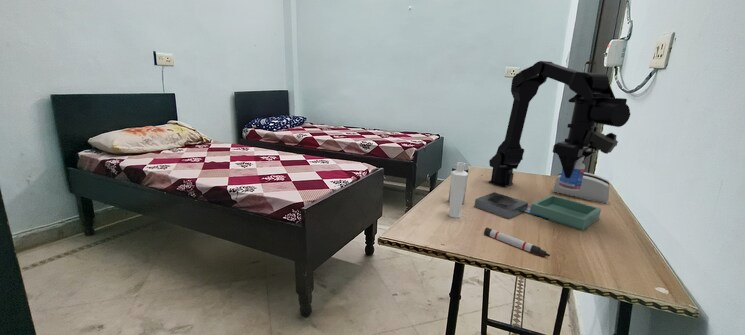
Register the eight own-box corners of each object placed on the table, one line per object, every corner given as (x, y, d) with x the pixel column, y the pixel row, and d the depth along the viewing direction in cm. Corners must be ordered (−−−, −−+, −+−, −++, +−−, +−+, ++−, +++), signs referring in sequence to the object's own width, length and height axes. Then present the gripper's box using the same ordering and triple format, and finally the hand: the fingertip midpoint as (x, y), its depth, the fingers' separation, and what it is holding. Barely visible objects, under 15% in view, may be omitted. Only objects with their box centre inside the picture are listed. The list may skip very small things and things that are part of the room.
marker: (483, 235, 85) (484, 228, 85) (487, 233, 87) (488, 226, 86) (547, 261, 75) (549, 253, 74) (551, 258, 76) (552, 250, 76)
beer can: (446, 203, 105) (451, 165, 102) (449, 198, 109) (454, 162, 106) (462, 206, 103) (467, 167, 100) (465, 201, 108) (469, 164, 105)
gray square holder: (474, 206, 103) (475, 199, 103) (493, 199, 111) (494, 192, 110) (509, 219, 96) (510, 210, 95) (526, 210, 103) (528, 202, 102)
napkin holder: (608, 199, 117) (614, 175, 112) (606, 207, 114) (613, 182, 109) (553, 188, 126) (557, 165, 121) (551, 195, 123) (554, 172, 117)
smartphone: (509, 198, 112) (558, 213, 101) (509, 200, 112) (558, 215, 102) (498, 203, 107) (548, 219, 96) (498, 205, 107) (548, 221, 96)
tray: (529, 213, 101) (531, 203, 100) (549, 203, 110) (551, 194, 109) (582, 230, 91) (584, 220, 90) (598, 218, 100) (601, 208, 99)
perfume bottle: (453, 219, 93) (460, 166, 89) (443, 213, 97) (449, 162, 93) (466, 217, 95) (474, 164, 91) (456, 211, 99) (462, 160, 95)
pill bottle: (579, 192, 94) (587, 158, 92) (557, 188, 97) (564, 154, 95) (580, 187, 99) (587, 154, 96) (559, 184, 102) (566, 151, 99)
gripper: (606, 127, 81) (592, 190, 85) (628, 123, 93) (614, 178, 97) (557, 121, 89) (546, 178, 93) (583, 118, 101) (572, 169, 105)
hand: (571, 176), depth 97 cm, fingers closed on pill bottle, 5 cm apart
